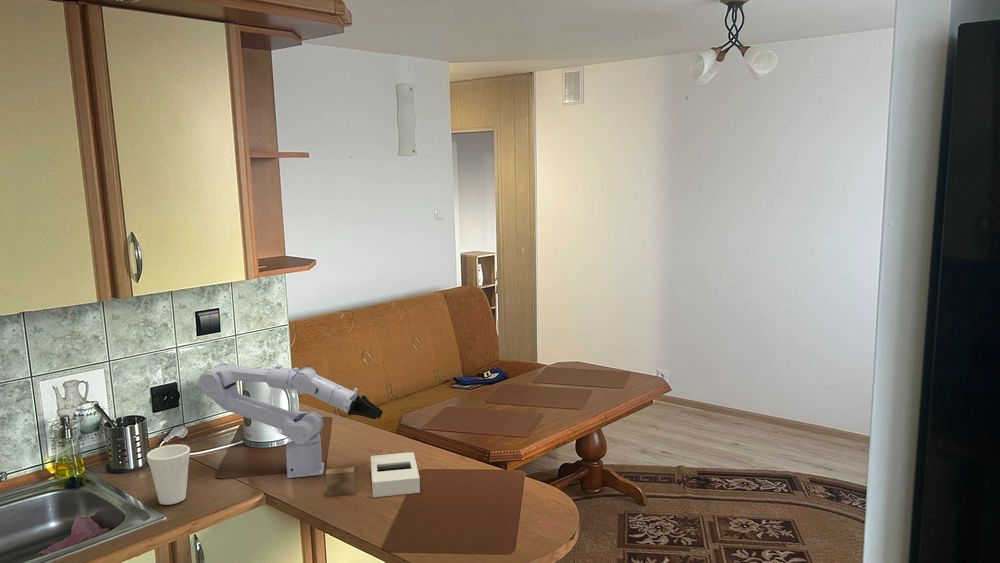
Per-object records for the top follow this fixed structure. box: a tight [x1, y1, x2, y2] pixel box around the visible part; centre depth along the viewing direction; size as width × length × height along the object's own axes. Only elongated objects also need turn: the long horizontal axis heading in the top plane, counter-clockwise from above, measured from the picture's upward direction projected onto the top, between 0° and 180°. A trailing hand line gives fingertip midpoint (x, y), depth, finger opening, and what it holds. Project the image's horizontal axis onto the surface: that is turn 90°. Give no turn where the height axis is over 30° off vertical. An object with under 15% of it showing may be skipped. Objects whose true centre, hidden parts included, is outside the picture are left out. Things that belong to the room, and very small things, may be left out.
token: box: [325, 466, 356, 497], centre depth 182 cm, size 7×3×6 cm, turn 102°
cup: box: [146, 444, 191, 505], centre depth 178 cm, size 10×10×13 cm
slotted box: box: [370, 451, 421, 498], centre depth 189 cm, size 12×18×4 cm, turn 12°
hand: (379, 415), depth 191 cm, fingers open, 7 cm apart
